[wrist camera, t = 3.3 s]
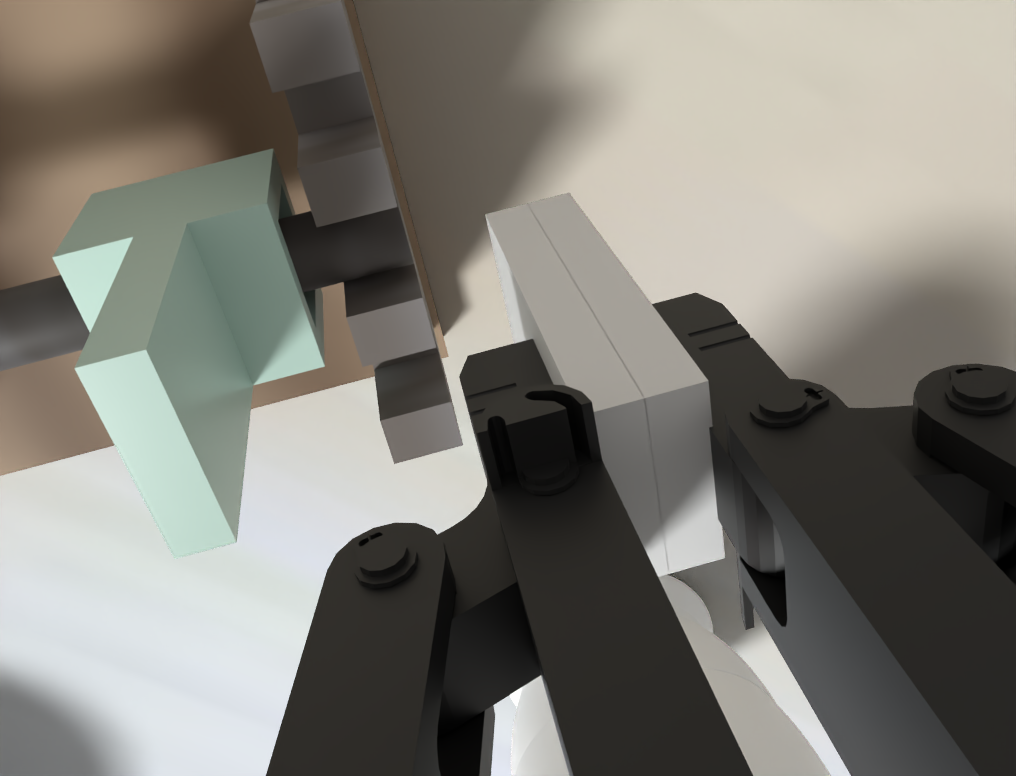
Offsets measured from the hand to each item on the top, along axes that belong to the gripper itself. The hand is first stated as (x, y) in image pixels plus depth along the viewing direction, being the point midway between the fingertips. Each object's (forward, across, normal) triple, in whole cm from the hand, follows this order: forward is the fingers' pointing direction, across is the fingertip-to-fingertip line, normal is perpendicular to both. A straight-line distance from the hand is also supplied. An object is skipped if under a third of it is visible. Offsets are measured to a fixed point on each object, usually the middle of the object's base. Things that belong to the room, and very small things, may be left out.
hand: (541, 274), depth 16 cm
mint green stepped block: (+6, +6, 0) cm, 9 cm away
